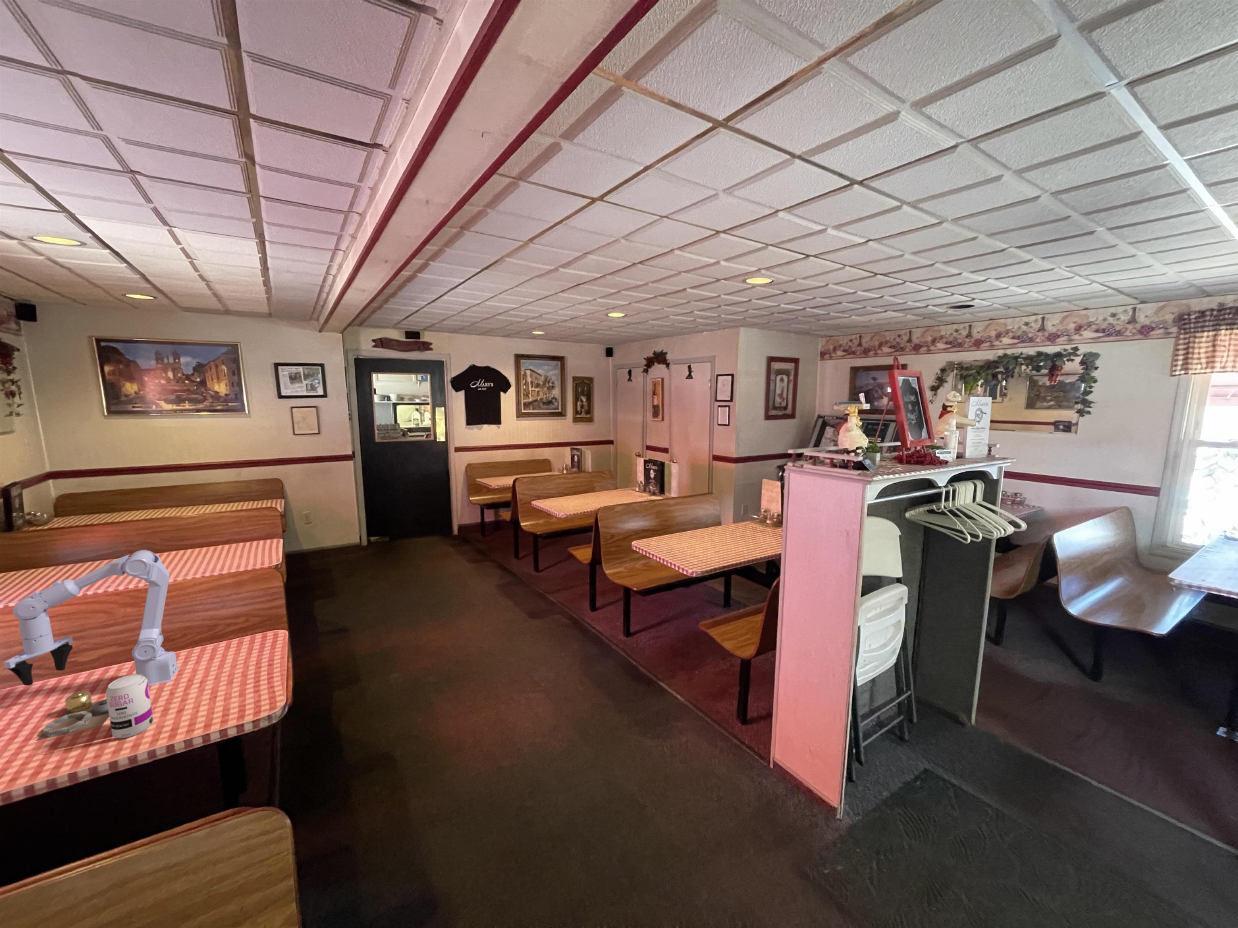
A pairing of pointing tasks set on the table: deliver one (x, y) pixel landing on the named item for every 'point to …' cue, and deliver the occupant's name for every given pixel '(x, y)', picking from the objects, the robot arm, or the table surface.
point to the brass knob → (78, 702)
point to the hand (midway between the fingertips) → (44, 676)
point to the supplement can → (129, 706)
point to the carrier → (77, 721)
